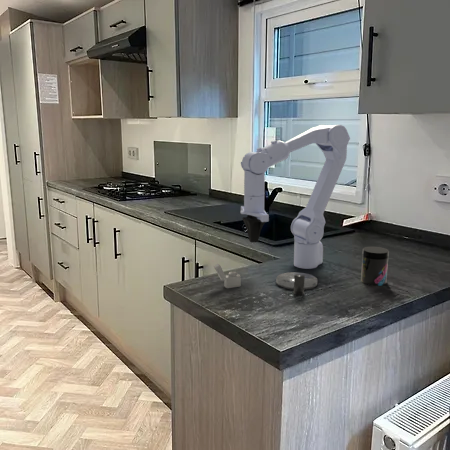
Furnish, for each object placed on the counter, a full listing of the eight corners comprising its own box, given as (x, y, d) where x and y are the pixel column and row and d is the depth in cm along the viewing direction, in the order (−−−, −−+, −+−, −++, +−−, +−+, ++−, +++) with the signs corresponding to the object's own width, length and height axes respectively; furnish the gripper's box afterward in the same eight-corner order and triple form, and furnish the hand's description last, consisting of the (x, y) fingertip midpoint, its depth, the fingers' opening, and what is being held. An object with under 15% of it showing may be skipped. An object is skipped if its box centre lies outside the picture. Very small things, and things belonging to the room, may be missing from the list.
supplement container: (370, 292, 122) (373, 254, 120) (355, 283, 128) (357, 247, 126) (391, 288, 124) (394, 251, 122) (375, 281, 130) (378, 245, 128)
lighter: (238, 289, 124) (238, 260, 123) (240, 291, 123) (240, 262, 121) (213, 292, 122) (213, 263, 120) (216, 294, 120) (215, 265, 119)
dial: (275, 275, 131) (276, 259, 130) (314, 276, 130) (315, 260, 129) (277, 294, 116) (277, 276, 115) (321, 296, 115) (322, 277, 114)
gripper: (231, 192, 135) (231, 237, 138) (252, 199, 122) (251, 249, 125) (253, 191, 138) (252, 235, 140) (275, 198, 124) (274, 246, 127)
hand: (253, 241), depth 133 cm, fingers closed
